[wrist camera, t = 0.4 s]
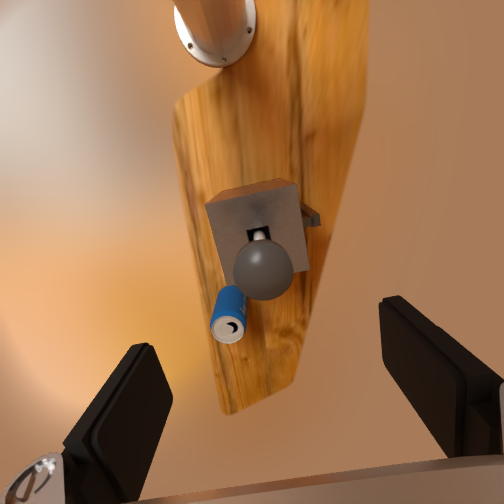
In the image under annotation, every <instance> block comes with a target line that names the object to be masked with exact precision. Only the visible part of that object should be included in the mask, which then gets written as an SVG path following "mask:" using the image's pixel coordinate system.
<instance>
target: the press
mask: <svg viewBox="0 0 504 504" xmlns="http://www.w3.org/2000/svg"><path fill="white" fill-rule="evenodd" d="M205 207H206V211H207V214H208V218H209V222H210V225H211V229H212V233H213V236H214V240H215V243H216V247H217V251H218V254H219V258H220V262H221V265H222V269H223V272H224V276H225V280H226V283H227V286H231V285H236V284H235V282H234V278H233V268H234V262H235V258H236V256H237V254H238V252H239V251H240V249H241V248H242V247H243V246H245V245H246V244H247V243H249V238H248V234H247V230H249V229H253V228H258V227H263V226H269V231H270V236H271V240H272V241H274V242H277V243H278V244H280V245H281V246H282V247H283V248H284V249H285V250H286V251H287V253H288V255H289V257H290V260H291V262H292V265H293V270H294V273H297V272H302V271H307V270H310V268H309V261H308V255H307V248H306V242H305V236H304V229H303V228H304V227H309V226H311V227H316V226H321V224H320V217H319V213H317V212H316V211H314V210H313V209H311V208H310V207H308V206H307V205H305V204H304V203H302V202H301V203H299V197H298V191H297V184H295V183H292V182H289V181H286V180H284V179H281V178H277V179H273V180H269V181H264V182H260V183H255V184H251V185H246V186H242V187H238V188H233V189H229V190H224V191H222V192H220V193H219V194H218V195H216V196H215V197H214V198H212V199H211V200H210V201H208V202H207V203H206V204H205Z"/></svg>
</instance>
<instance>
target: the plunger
mask: <svg viewBox="0 0 504 504" xmlns="http://www.w3.org/2000/svg"><path fill="white" fill-rule="evenodd" d="M247 234H248V238H249V243H247V244H246V245H245V246H243V247H242V248H241V249H240V251H239V252H238V254H237V256H236V258H235V262H234V268H233V278H234V282H235V284H236V286H237V287H238V289H239V290H240V291H241V292H242V293H243V294H244V295H246V296H247V297H249V298H252V299H255V300H271V299H274V298H277V297H279V296H280V295H282V294H283V293H284V292H285V291H286V290H287V289H288V288H289V286H290V285H291V283H292V280H293V275H294V270H293V265H292V262H291V260H290V257H289V255H288V253H287V251H286V250H285V249H284V248H283V247H282V246H281V245H280V244H278V243H277V242H274V241H272V240H271V236H270V231H269V226H263V227H258V228H253V229H249V230H247Z"/></svg>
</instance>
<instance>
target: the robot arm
mask: <svg viewBox="0 0 504 504" xmlns="http://www.w3.org/2000/svg"><path fill="white" fill-rule="evenodd" d="M173 2H174V4H175V5H174V19H175V26H176V29H177V33H178V36H179V38H180V40H181V42H182V44H183V46H184V47H185V49H186V50H187V52H188V53H189V54H190V55H191V56H192V57H193V58H194V59H196V60H197V61H198V62H200V63H202V64H204V65H206V66H209V67H216V68H221V67H226V66H229V65H231V64H233V63H235V62H236V61H238V60H239V59H241V57H242V56H243V55H244V54H245V53H246V52H247V50H248V48H249V47H250V45H251V42H252V40H253V37H254V33H255V28H256V9H255V3H254V0H173ZM248 32H251V33H250V34H248ZM191 47H193V49H190V48H191ZM224 59H225V60H226V61H225V62H223V60H224ZM379 317H380V332H381V345H382V358H383V362H384V365H385V367H386V368H387V370H388V371H389V373H390V374H391V376H392V377H393V379H394V380H395V381H396V383H397V385H398V386H399V387H400V389H401V390H402V392H403V393H404V395H405V396H406V398H407V399H408V400H409V402H410V403H411V405H412V406H413V408H414V409H415V411H416V412H417V413H418V415H419V417H420V418H421V419H422V421H423V422H424V424H425V425H426V427H427V428H428V430H429V431H430V433H431V434H432V435H433V437H434V438H435V440H436V441H437V443H438V444H439V446H440V447H441V449H442V450H443V452H444V453H445V454H446V456H447V457H448V458H447V459H438V460H430V461H421V462H412V463H403V464H396V465H388V466H382V467H374V468H366V469H359V470H351V471H344V472H336V473H330V474H322V475H314V476H307V477H301V478H293V479H286V480H279V481H272V482H265V483H257V484H250V485H244V486H236V487H229V488H222V489H216V490H208V491H202V492H195V493H189V494H182V495H175V496H168V497H162V498H155V499H148V500H141V501H138V499H139V497H140V494H141V491H142V488H143V486H144V483H145V480H146V477H147V474H148V471H149V468H150V466H151V463H152V460H153V457H154V454H155V451H156V448H157V446H158V443H159V440H160V437H161V434H162V432H163V428H164V426H165V423H166V420H167V417H168V414H169V412H170V409H171V406H172V403H173V395H172V392H171V389H170V387H169V384H168V382H167V380H166V377H165V374H164V372H163V370H162V367H161V364H160V362H159V360H158V357H157V354H156V352H155V349H154V347H153V346H152V345H149V344H148V343H140V344H135V345H132V346H131V347H130V348H129V350H128V351H127V353H126V354H125V356H124V357H123V358H122V360H121V361H120V363H119V364H118V366H117V367H116V368H115V370H114V371H113V372H112V374H111V375H110V377H109V378H108V380H107V381H106V383H105V384H104V385H103V387H102V388H101V390H100V391H99V392H98V394H97V395H96V396H95V398H94V399H93V401H92V402H91V403H90V405H89V407H88V408H87V409H86V411H85V412H84V413H83V415H82V416H81V418H80V419H79V420H78V422H77V423H76V425H75V426H74V428H73V429H72V430H71V432H70V433H69V435H68V436H67V437H66V439H65V440H64V442H63V445H64V446H65V449H64V451H63V452H62V453H61V454H59V453H57V452H56V453H48V454H46V455H43V456H41V457H39V458H38V459H36V460H34V461H32V462H31V463H30V464H28V465H27V466H26V467H24V468H23V469H22V470H21V471H20V472H19V473H18V474H17V475H16V476H15V477H14V478H13V479H12V480H11V481H10V483H9V484H8V485H7V486H6V488H5V489H4V491H3V492H2V494H1V496H0V504H504V379H502V378H501V377H500V376H499V375H497V374H496V373H495V372H494V371H493V370H492V369H490V368H489V367H488V366H487V365H485V364H484V363H483V362H482V361H480V360H479V359H478V358H477V357H475V356H474V355H473V354H472V353H471V352H470V351H468V350H467V349H466V348H464V347H463V346H462V345H461V344H460V343H459V342H457V341H456V340H455V339H454V338H452V337H451V336H450V335H449V334H448V333H446V332H445V331H444V330H443V329H441V328H440V327H438V326H436V325H435V324H434V323H433V322H431V321H430V320H429V319H428V318H427V317H425V316H424V315H423V314H422V313H420V312H419V311H418V310H417V309H416V308H414V307H413V306H412V305H411V304H410V303H408V302H407V301H406V300H405V299H403V298H402V297H401V296H399V295H397V296H392V297H387V298H383V301H382V302H380V303H379Z"/></svg>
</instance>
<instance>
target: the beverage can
mask: <svg viewBox="0 0 504 504" xmlns="http://www.w3.org/2000/svg"><path fill="white" fill-rule="evenodd" d="M246 324H247V296H246V295H244V294H243V293H242V292H241V291H240V290H239V289H238V287H237V286H236V285H231V286H226V287H224V288H222V289H221V290H220V292H219V294H218V297H217V301H216V304H215V308H214V312H213V315H212V319H211V323H210V327H211V331H212V334H213V336H214V337H215V339H216V340H218V341H219V342H222V343H226V344H230V343H235V342H237V341H238V340H240V339H241V337H242V336H243V334H244V333H245V331H246Z"/></svg>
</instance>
